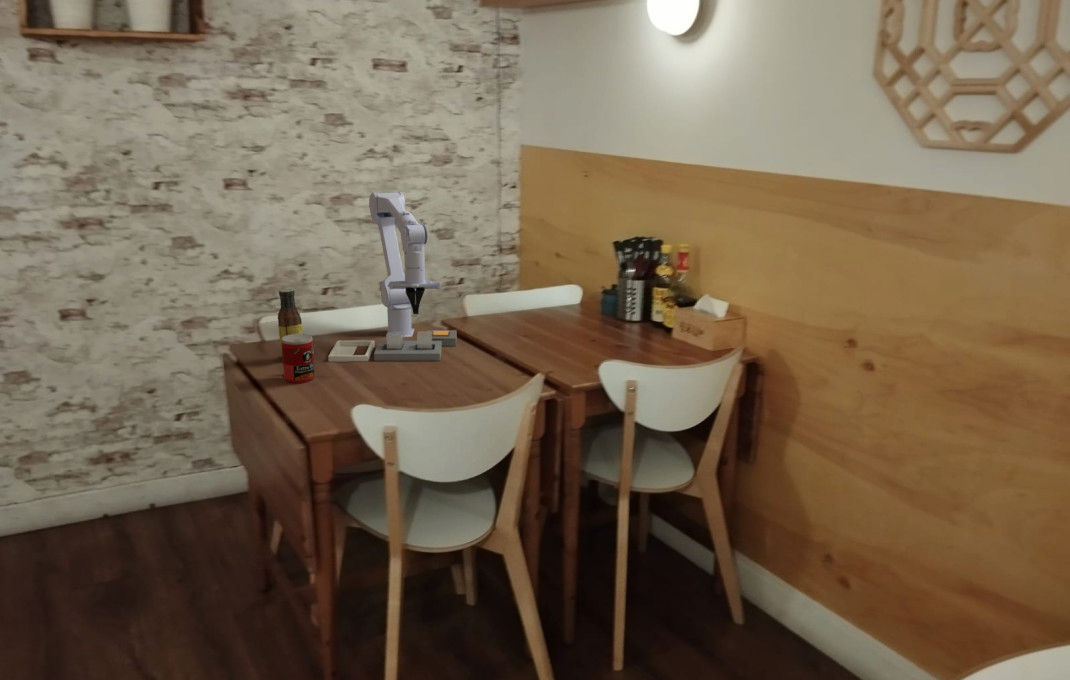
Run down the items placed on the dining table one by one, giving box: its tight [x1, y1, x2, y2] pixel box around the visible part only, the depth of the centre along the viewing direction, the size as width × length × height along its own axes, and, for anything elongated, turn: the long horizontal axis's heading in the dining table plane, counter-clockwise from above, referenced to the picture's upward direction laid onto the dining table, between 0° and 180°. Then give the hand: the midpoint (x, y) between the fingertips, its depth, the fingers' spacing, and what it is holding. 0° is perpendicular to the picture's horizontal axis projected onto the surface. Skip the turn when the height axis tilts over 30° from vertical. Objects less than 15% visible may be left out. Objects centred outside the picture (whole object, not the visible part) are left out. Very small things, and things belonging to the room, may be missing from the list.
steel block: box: [386, 331, 404, 350], centre depth 234 cm, size 4×4×6 cm
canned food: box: [281, 333, 316, 384], centre depth 213 cm, size 8×8×11 cm
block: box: [416, 330, 433, 350], centre depth 235 cm, size 4×4×6 cm
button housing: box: [426, 329, 458, 347], centre depth 248 cm, size 9×9×3 cm
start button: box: [433, 331, 449, 337], centre depth 247 cm, size 4×4×3 cm
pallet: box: [373, 340, 443, 362], centre depth 235 cm, size 13×18×3 cm
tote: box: [327, 340, 375, 363], centre depth 235 cm, size 16×11×2 cm
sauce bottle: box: [277, 288, 304, 360], centre depth 227 cm, size 6×6×20 cm
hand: (415, 313), depth 241 cm, fingers closed
